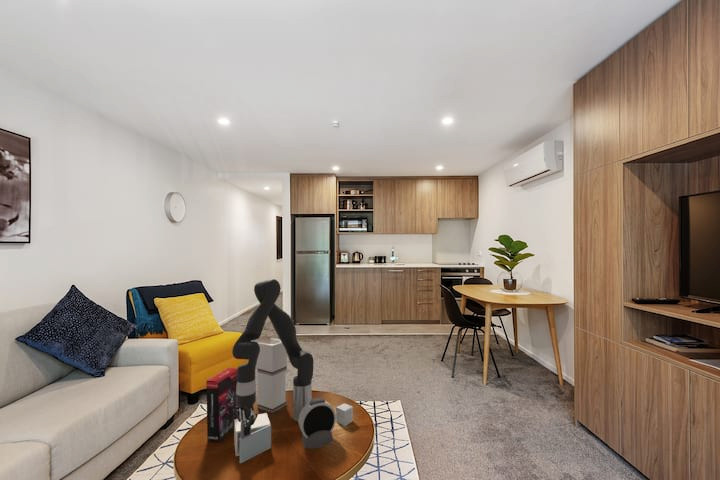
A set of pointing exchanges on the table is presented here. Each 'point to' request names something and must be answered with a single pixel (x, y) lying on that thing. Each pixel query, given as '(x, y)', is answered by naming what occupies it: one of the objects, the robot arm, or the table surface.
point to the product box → (344, 414)
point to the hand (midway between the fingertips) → (245, 434)
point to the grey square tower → (271, 376)
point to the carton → (259, 423)
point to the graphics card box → (221, 404)
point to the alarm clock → (317, 423)
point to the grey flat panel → (254, 442)
